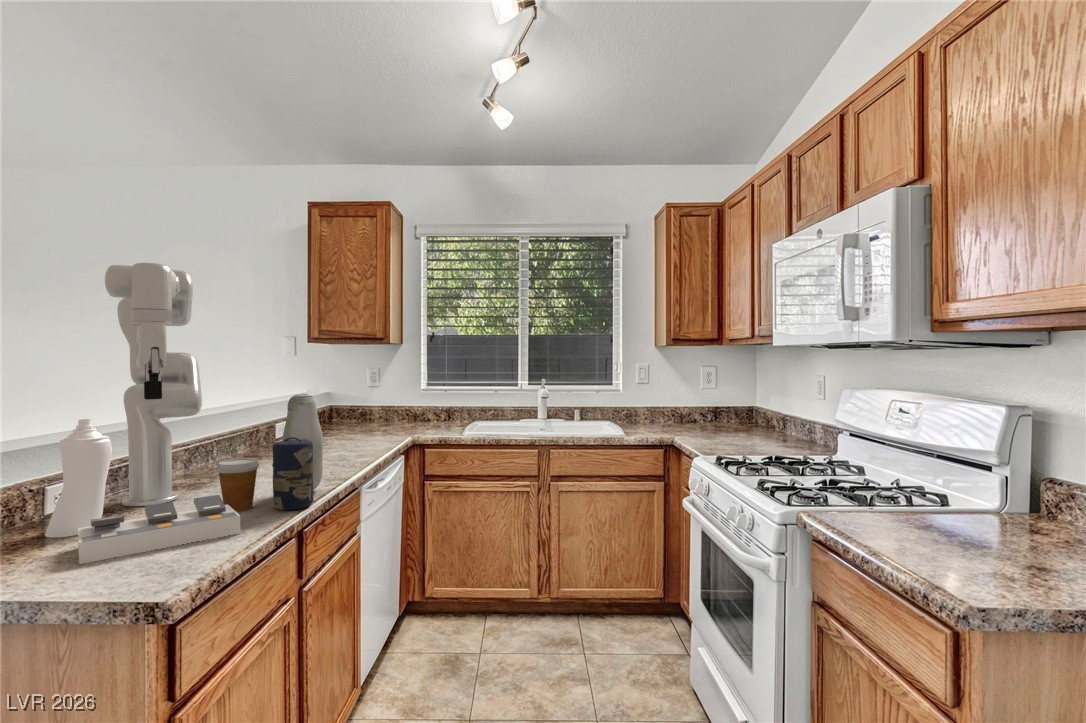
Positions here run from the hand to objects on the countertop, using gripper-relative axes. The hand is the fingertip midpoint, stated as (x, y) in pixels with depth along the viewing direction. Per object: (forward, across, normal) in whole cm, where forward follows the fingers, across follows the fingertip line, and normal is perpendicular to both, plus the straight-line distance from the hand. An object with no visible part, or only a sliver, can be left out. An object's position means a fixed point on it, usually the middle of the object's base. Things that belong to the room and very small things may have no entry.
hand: (153, 398), depth 127 cm
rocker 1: (+24, +12, -9) cm, 28 cm away
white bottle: (+29, -7, -13) cm, 33 cm away
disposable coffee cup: (+29, -4, +18) cm, 35 cm away
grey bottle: (+29, -10, +36) cm, 48 cm away
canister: (+29, +4, +29) cm, 41 cm away
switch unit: (+29, +13, 0) cm, 32 cm away
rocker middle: (+24, +12, 0) cm, 26 cm away
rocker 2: (+24, +12, +9) cm, 28 cm away
